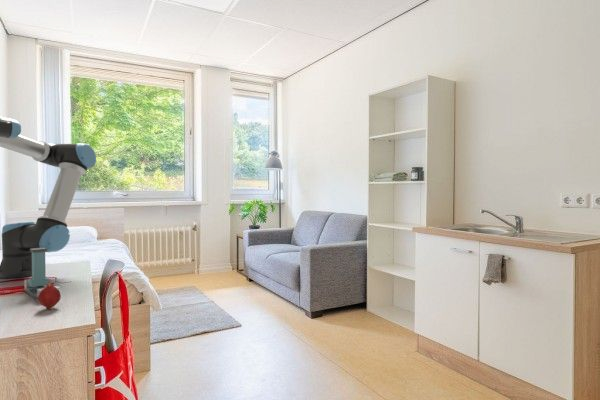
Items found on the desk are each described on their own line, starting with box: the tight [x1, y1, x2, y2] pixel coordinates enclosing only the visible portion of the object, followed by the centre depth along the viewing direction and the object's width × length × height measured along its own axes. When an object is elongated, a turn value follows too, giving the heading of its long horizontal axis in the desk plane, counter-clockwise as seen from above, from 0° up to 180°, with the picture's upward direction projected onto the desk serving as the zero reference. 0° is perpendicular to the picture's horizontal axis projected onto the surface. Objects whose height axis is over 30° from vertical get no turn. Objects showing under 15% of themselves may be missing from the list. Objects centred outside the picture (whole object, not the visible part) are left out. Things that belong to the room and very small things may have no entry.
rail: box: [23, 278, 61, 303], centre depth 132 cm, size 22×6×4 cm, turn 47°
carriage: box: [29, 248, 50, 287], centre depth 134 cm, size 4×5×13 cm
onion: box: [37, 282, 62, 310], centre depth 116 cm, size 6×6×8 cm
